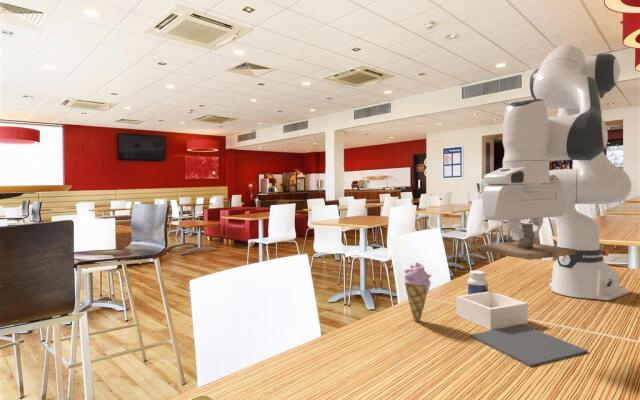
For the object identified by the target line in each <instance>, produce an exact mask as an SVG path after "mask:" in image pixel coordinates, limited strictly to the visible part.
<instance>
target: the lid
mask: <svg viewBox="0 0 640 400" xmlns="http://www.w3.org/2000/svg"><path fill="white" fill-rule="evenodd" d="M519 227H520V230H521V232H524V240H520V241H512V242H503V243H502V242H501V243H493V244H492V243H491V244H481V245H479V251H484V252H488V253H493V254H498V255H503V256H508V257H513V258H519V259H523V260H528V261H533V260H541V259H548V258H549V259H550V258H556V257H558V256H566V255H574V254H576V249H570V248H563V247H556V246H557V245H556V246H555V245H549V244H543V243H536V242H534V239H533V224H532V223H521V224H520V225H519Z"/></svg>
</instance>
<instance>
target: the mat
mask: <svg viewBox="0 0 640 400" xmlns="http://www.w3.org/2000/svg"><path fill="white" fill-rule="evenodd" d="M469 336H470V337H471V338H472V339H475V340H477V341H478V342H480V343H482V344H484V345H486V346H488V347H490V348H492V349H494V350H496V351H498V352H500V353H502V354H504V355H506V356H508V357H510V358H512V359H513V360H516V361H517V362H520V363H522V364H524V365H526V366H528V367H535V366H539V365H543V364H546V363H547V364H548V363H550V362H555V361H558V360H563V359H567V358H570V357H574V356H578V355H583V354H586V353H589V350H587V349H585V348H583V347H580V346H578V345H576V344H573V343H570V342H568V341H565V340H564V339H560V338H558V337H555V336H553V335H550V334H547V333H545V332H543V331H540V330H537V329H535V328H532V327H530V326H527V325H524V324H520V325H515V326H510V327H505V328H500V329H494V330H487V331H482V332H477V333H471V334H469ZM582 353H583V354H582Z"/></svg>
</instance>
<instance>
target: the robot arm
mask: <svg viewBox="0 0 640 400" xmlns="http://www.w3.org/2000/svg"><path fill="white" fill-rule="evenodd" d="M620 75H621V67H620V63H619V61H618V60H617V57H616V56H615V55H613V54H612V53H598V54H597V55H587V56H585V54H584V52H583V50H581V49H580V48H579V47H577V46H574V45H569V44H568V45H562V46H561V45H560V46H559V47H557V48H555V49H553V50H551V52H550V53H549V54H547V55H546V57H545V59H544V60H543V61H542V62H541V65H540V66H539V68H536V69H535V70H534V71H533V72H532V73H531V76H530V78H529V84H528V88H529V92H530V95H531V98H532V99H527V100H522V101H521V100H520V101H519V100H518V101H515V102H511V103H510V104H508V105H506V108H505V110H504V116H503V122H502V123H503V126H502V146H503V149H504V154H503V155H504V156H503V159H502V167H500V168H498V169H496V170H494V171H492V172H489V173H487V174H485V175H484V176H483V183H484V185H486V186H485V188H484V189H483V192H482V194H483V195H482V215H483V217H484V218H485V219H486V220H487V221H493V222H495V221H496V222H497V221H498V222H499V221H501V222H502V221H507V225H508V227H509V229H510V231H511V233H512V237H511V238H512V240H513V241H515V242H518V241H520V240H524V232H521V230H520V227H519V225H520V224H522V223H521V222H522V221H521V220H527V219H528V220H529V223H531V224H533V240H538V239H539V234H540V230H541V229H542V226H543V224H544V219H545V218H553V220H554V223H555V227H556V228H555V230H556V247H563V248H570V249H576V254H574V255H566V256H558V257H555V259H556V260H555V261H554V262H553V267H552V273H551V281H550V282H549V283H548V286H549V287H550V290H551V292H554V293H556V294H559V295H563V296H566V297H570V298H571V297H573V298H579V299H592V300H599V301H600V300H601V301H610V300H615V299H617V298H618V297H621V296H625V295H626V294H629V293H630V290H629V289H628V288H626V287H623V286H621V285H620V276H619V273H618V272H617V271H616V270H615V269H613V268H612V267H611V266H610V265H609V264H608V263H606V262H605V261H604V260H605V259H604V256H605V257H608V256H609V254H610V251H609V249H603V248H600V230H601V229H600V225H599V223H598V222H597V221H596V220H595V219H594V218H592V217H590V216H588V215H586V214H583V213H581V212H579V211H578V210H577V209H576V206H575V205H578V204H579V205H589V204H590V205H604V204H606V205H607V204H614V203H619V202H623V201H624V200H625V199H626V198H627V197H628V196H629V195H630V193H631V191H632V180H631V177H630V176H629V175H628V173H627V172H626V171H624V170H623V169H622V168H620V167H618V166H616V165H615V164H613V162H611V160H610V159H609V158H608V157H607V155H606V154H605V152H604V151H605V150H606V147H607V144H608V139H609V135H608V128H607V124H606V122H605V120H604V119H603V117H602V106H601V99H602V98H604V97H605V94H607V93H609V92H610V91H612V90H613V89H614V88H615V87H616V86H617V83H618V81H619V78H620ZM548 108H551V109H557V116H556V117H555V116H554V117H549V114H548V113H549V112H548ZM570 160H571V161H578V162H579V163H580V167H579V168H566V169H564V168H563V169H550V162H551V161H552V162H553V161H555V162H556V161H570Z"/></svg>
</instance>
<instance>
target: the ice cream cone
mask: <svg viewBox="0 0 640 400" xmlns="http://www.w3.org/2000/svg"><path fill="white" fill-rule="evenodd" d="M409 267H410V268H409V269H404V273H405V274H404V281H403V282H404V285H405V292H406V295H407V299H408V304H409V306H410V311H411V314H412V317H413V320H414V322H415V323H419V322H420V321H421V318H422V314H423V310H424V307H425V303H426V298H427V295H428V293H429V289H430V287H431V281H430V278H431V277H432V274H430V273H427V272H426V270H425V266H424V264H422V263H419V262H415V265H413V264H410V266H409Z"/></svg>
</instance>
